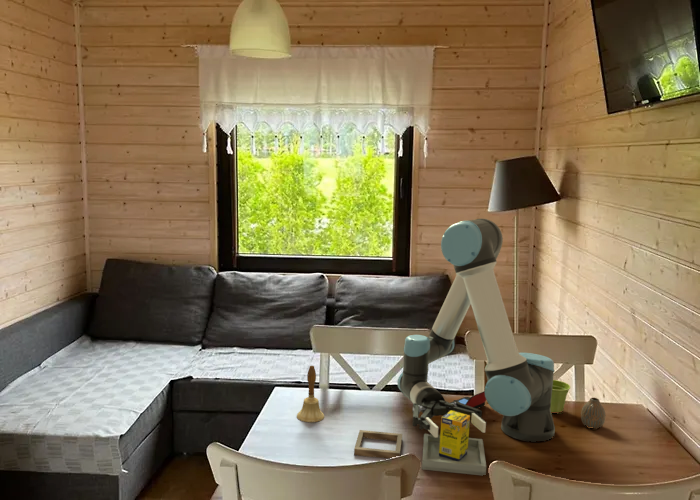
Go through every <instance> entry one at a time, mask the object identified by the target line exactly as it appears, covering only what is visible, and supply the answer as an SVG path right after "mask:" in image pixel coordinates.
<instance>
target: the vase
mask: <svg viewBox="0 0 700 500" xmlns="http://www.w3.org/2000/svg"><path fill="white" fill-rule="evenodd" d="M580 419H581V422H582V424H583V426H585V425H586V426H588V427H593V428H599V427H600V428H602V427H603V426H604V424H605V421H606V409H605V408H604V406H603V405H602V403H601V401H600V399H599V398H597V397H590V399H589V400H588V401H587V402H586V403H585V404H584V405H583V407H582V409H581V411H580ZM586 426H585V427H586ZM600 428H599V429H600Z"/></svg>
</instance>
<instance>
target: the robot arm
mask: <svg viewBox="0 0 700 500" xmlns="http://www.w3.org/2000/svg"><path fill="white" fill-rule="evenodd" d="M503 239H504V238H503V233H502V229H500V227H499V226H498V225H497V223H495V222H494V221H492V220H490V219H487V218H477V219H471V220H470V219H469V220H462V221H458V222H456V223H454V224H451V225H450V226H449V227H447V229H446V230H445V232H444V233H443V234H442V237H441V241H440V242H441V243H440V249H441V252H442V255H443V257H444V258H445V260H446V261H447V262H449V263H450V264H451V265H453V268H454V273H455V277H454V279H453V282H452V284H451V286H450V288H449V291H448V292H447V295H446V298H445V299H444V300H443V301H444V302H443V304H442V306H441V308H440V310H439V313H438V314H437V316H436V318H435V321H434V323H433V325H432V327H431V330H430V332H429V334H428V336H426V335H422V334H412V335H408V336H406V337H405V339H404V346H403V363H402V364H403V366H402V372H401V373H400V374H399V376H398V378H397V388H398V389H399V390H400V392H401V394H402V396H404V397H405V398H407V399H408V400H409V401H410V402H411V403H412V426H413V427H418V426H419V430H426V431H428V432H429V434H432V435H433V436H434V437H435V438H436V437H438V435H439V426H438V425H437V424H436V423H434V422H433V420H432V419H433V417H435V416H436V417H437V416H438V417H439V416H441V417H442V416H444V415H445V414H447V413H448V412H449V411H455V412H459V413H463V414H466V415H470V424H472V425H473V426H474V427H475V428H476V429H478V431H480V432H481V433H486V428H487V427H486V426H487V421H485V420H484V419H483V418H482V415H483V414H482V413H483V411H482V410H480V408H478V409H476V408H473V407H471V406H468V405H465V404H463V403H460V402H459V401H457V400H458V399H453V401H454V402H453V401H452V402H453V403H451V402H448V401H446V400H445V398H444V396H443V394H442V393H441V392H440V391H438V390H437V389H436V388H435V387H434V386H433V385H431V384H430V382H428V377H429V376H428V374H429V365H430V364H431V363H433V362H435V361H438V360H439V359H441V358H445V357H447V356H448V355H450V353H452V352H453V351H454V349H455V338H456V335H457V333H458V331H459V329H460V327H461V325H462V323H463V321H464V319H465V316H466V315H467V312H468V310H469V308H470V306H471V309H472V312H473V316H474V319H475V322H476V326H477V330H478V332H479V335H480V339H481V342H482V346H483V349H484V352H485V356H486V359H487V363H486V366H485V368H484V372H485V376H486V379H487V382H486V384H485V387H484V391H485V397H486V402H487V404H488V406H489V407H490V408H491V409H493V411H495V412H497V413H498V414H499V415H502V419H501V424H500V425H501V426H500V428H501V430H502V432H503V433H504V434H505V435H507V436H509V437H510V438H513V439H516V440H519V441H525V442H529V441H531V442H530V443H537V442H536V441H544V442H546V441H545V440H548V441H550V440H549V439H551V438H552V437H553V436H554V437H555V431H556V430H555V429H556V428H555V424H554V422H555V421H554V417H553V414H552V413H551V410H550V407H551V396H552V386H553V380H554V374H555V362H554V360H553V359H552V358H550V357H548V356H546V355H542V354H539V353H538V354H536V353H532V352H519V349H518V346H517V344H516V340H515V338H514V333H513V331H512V327H511V323H510V320H509V317H508V314H507V310H506V306H505V304H504V301H503V298H502V293H501V291H500V290H501V289H500V287H499V285H498V281H497V278H496V274H495V271H494V270H495V267H496V265H497V263H498V262H497V258H498V257H499V255H500V253H501V249H502V246H503V241H504V240H503ZM420 413H422V414H421V416H420ZM554 437H553V438H554ZM553 438H552V439H553ZM552 439H551V440H552Z"/></svg>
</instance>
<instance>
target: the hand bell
mask: <svg viewBox="0 0 700 500" xmlns="http://www.w3.org/2000/svg"><path fill="white" fill-rule="evenodd" d="M306 376H307V377H306V378H307V385H308V397H305V398H304V399H303V404H302V407H301V410H300V411H298V413H297V414H296V418H297V419H298V420H299V421H300V422H304V423H318V421H319V422H321V421H324V419H325V414H324V413H323V412H322V411H321V408H320V402H319V399H318V398H317V397H315V384H316V379H317V372H316V369H315V365H309V367H308V372H307V375H306Z"/></svg>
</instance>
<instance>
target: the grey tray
mask: <svg viewBox="0 0 700 500" xmlns="http://www.w3.org/2000/svg"><path fill="white" fill-rule="evenodd" d="M483 440H484V438H483V439H482V438H475V437H474V438H473V437H469V439H468V451H467V454H466V455H465V456H464V457H463V458H462V459H461V460H460V461H459V462H458V461H455V460H451V459H448V458H445V457H442V456H439V446H440V434H438V437H436V438H435V437H434V436H433V435H432V434H431V433H424V434H423V445H422V449H423V450H422V462H421V470H424V471H425V470H427V471H434V472H435V471H436V472H444V473H445V472H446V473H455V474H462V475H463V474H464V475H466V474H467V475H472V476H473V475H475V476H483V475H486V474H487V462H486V455H485V447H484V441H483ZM486 476H487V475H486Z"/></svg>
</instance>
